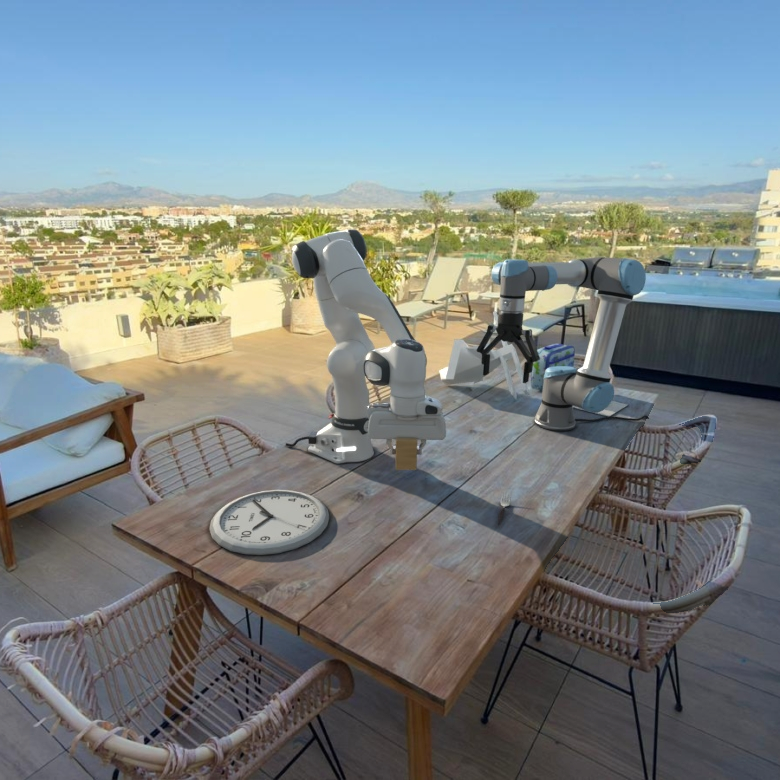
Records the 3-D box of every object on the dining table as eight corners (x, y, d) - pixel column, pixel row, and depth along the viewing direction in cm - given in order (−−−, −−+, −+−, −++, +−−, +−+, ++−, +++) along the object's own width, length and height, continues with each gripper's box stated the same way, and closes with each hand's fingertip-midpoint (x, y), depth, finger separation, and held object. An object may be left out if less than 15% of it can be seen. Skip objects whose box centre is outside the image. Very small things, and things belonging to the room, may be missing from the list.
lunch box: (547, 395, 239) (552, 351, 233) (526, 390, 247) (530, 347, 240) (574, 384, 257) (579, 343, 251) (554, 380, 264) (558, 339, 258)
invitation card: (608, 416, 214) (573, 407, 224) (608, 416, 214) (573, 408, 224) (628, 404, 229) (594, 396, 238) (628, 405, 229) (594, 397, 238)
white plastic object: (461, 429, 252) (437, 405, 227) (444, 352, 274) (420, 323, 250) (535, 404, 240) (518, 377, 215) (510, 326, 262) (492, 293, 237)
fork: (492, 526, 134) (493, 519, 133) (502, 497, 148) (502, 491, 148) (503, 528, 133) (503, 521, 132) (511, 499, 147) (512, 492, 147)
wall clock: (327, 546, 121) (194, 551, 119) (327, 552, 122) (195, 557, 119) (330, 485, 150) (223, 488, 147) (330, 490, 150) (224, 493, 148)
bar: (394, 431, 159) (395, 407, 156) (412, 432, 159) (413, 407, 156) (395, 469, 134) (396, 440, 132) (416, 470, 134) (417, 441, 132)
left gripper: (366, 407, 130) (365, 458, 134) (448, 408, 130) (445, 459, 134) (367, 399, 136) (366, 448, 140) (445, 400, 136) (443, 449, 140)
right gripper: (468, 308, 164) (464, 373, 170) (546, 317, 150) (538, 388, 156) (480, 306, 170) (475, 369, 176) (555, 314, 155) (547, 382, 162)
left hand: (406, 453), depth 137 cm, fingers closed on bar, 5 cm apart
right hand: (505, 378), depth 166 cm, fingers open, 13 cm apart
